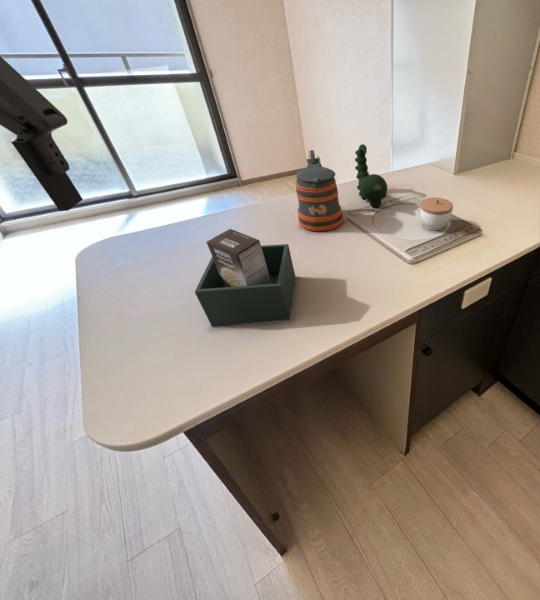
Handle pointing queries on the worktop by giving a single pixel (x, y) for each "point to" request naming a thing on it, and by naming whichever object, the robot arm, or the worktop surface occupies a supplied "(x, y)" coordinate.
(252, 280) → the coffee box
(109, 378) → the worktop surface
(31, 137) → the robot arm
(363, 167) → the toy figurine
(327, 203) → the beer stein
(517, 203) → the worktop surface
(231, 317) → the waste bin
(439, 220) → the trinket box
